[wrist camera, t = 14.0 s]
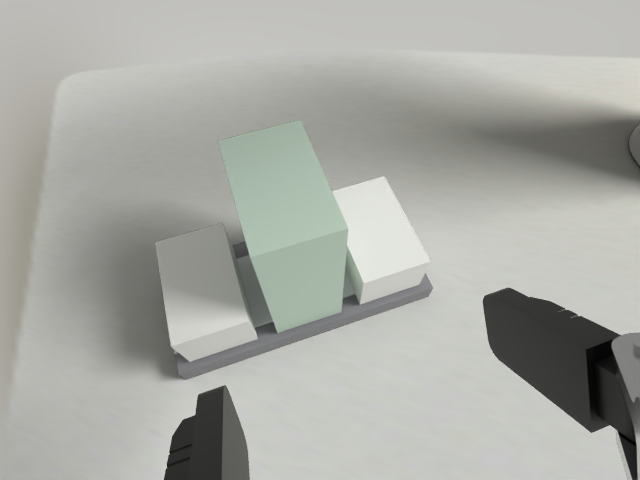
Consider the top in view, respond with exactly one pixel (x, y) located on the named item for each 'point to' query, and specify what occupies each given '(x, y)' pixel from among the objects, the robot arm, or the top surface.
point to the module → (288, 222)
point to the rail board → (246, 294)
